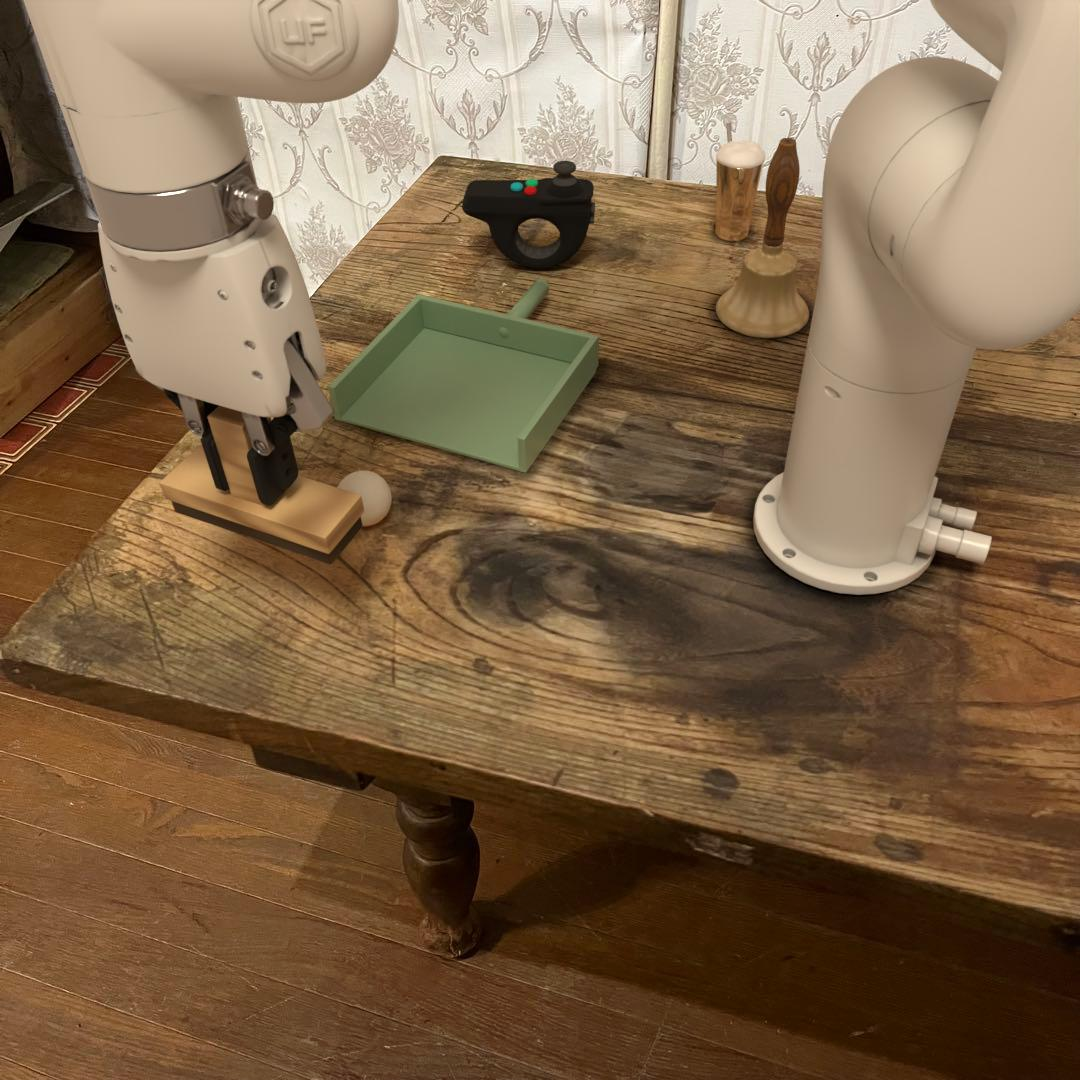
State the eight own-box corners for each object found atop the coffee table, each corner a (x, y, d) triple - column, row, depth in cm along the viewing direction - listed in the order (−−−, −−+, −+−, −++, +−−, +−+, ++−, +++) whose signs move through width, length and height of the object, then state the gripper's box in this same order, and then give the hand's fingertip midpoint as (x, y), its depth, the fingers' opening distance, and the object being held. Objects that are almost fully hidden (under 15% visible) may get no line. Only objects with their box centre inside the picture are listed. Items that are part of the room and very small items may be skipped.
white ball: (405, 508, 76) (398, 467, 74) (377, 543, 74) (368, 503, 71) (358, 494, 78) (350, 453, 75) (329, 528, 75) (319, 487, 72)
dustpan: (526, 473, 79) (524, 439, 76) (334, 419, 84) (327, 386, 82) (631, 320, 93) (632, 288, 91) (462, 283, 98) (459, 251, 96)
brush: (367, 525, 64) (346, 415, 58) (332, 569, 61) (306, 458, 55) (209, 474, 67) (174, 365, 61) (170, 513, 65) (129, 403, 59)
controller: (593, 276, 98) (594, 176, 91) (465, 274, 99) (456, 175, 92) (595, 253, 101) (596, 154, 94) (470, 251, 102) (462, 153, 95)
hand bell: (828, 317, 92) (863, 143, 81) (759, 350, 89) (785, 172, 78) (764, 278, 97) (788, 108, 86) (696, 307, 94) (712, 135, 83)
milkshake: (738, 215, 106) (750, 118, 99) (762, 240, 102) (776, 141, 95) (698, 223, 105) (706, 126, 98) (720, 248, 101) (731, 149, 94)
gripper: (363, 191, 49) (405, 480, 62) (99, 136, 54) (190, 415, 67) (271, 266, 44) (338, 563, 57) (-9, 198, 49) (111, 486, 62)
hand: (257, 481), depth 62 cm, fingers closed on brush, 2 cm apart
